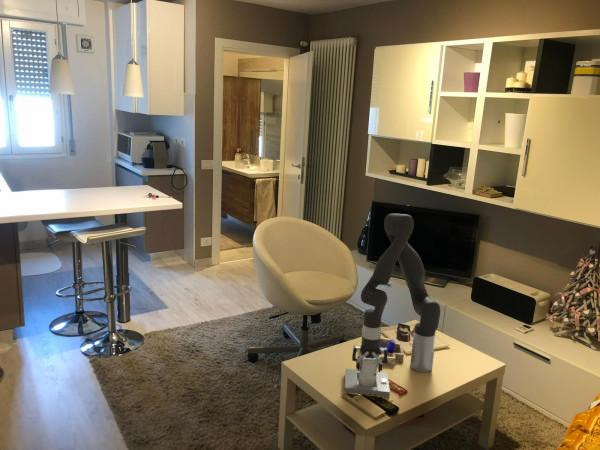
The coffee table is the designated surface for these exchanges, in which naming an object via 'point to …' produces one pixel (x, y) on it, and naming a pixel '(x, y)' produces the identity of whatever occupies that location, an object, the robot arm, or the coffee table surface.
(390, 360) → the tray
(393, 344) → the cable clip
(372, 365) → the skincare box
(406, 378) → the coffee table surface
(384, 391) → the socket plate
